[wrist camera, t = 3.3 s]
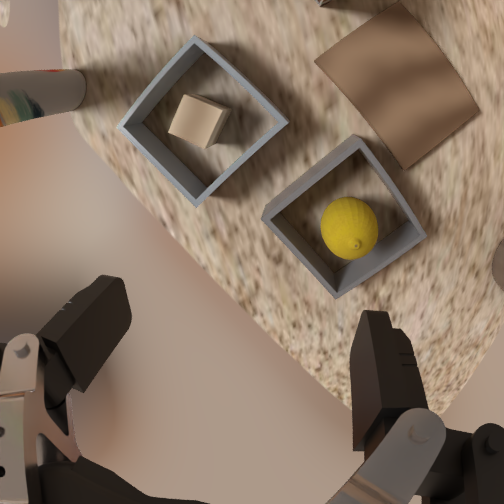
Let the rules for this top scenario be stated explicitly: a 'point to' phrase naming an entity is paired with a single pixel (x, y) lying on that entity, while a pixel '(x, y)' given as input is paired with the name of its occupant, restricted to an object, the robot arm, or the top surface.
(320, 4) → the food container
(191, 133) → the birch block
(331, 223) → the lemon
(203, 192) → the slate-blue bin
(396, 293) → the top surface
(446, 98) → the walnut board
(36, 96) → the lotion bottle
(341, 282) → the charcoal bin
